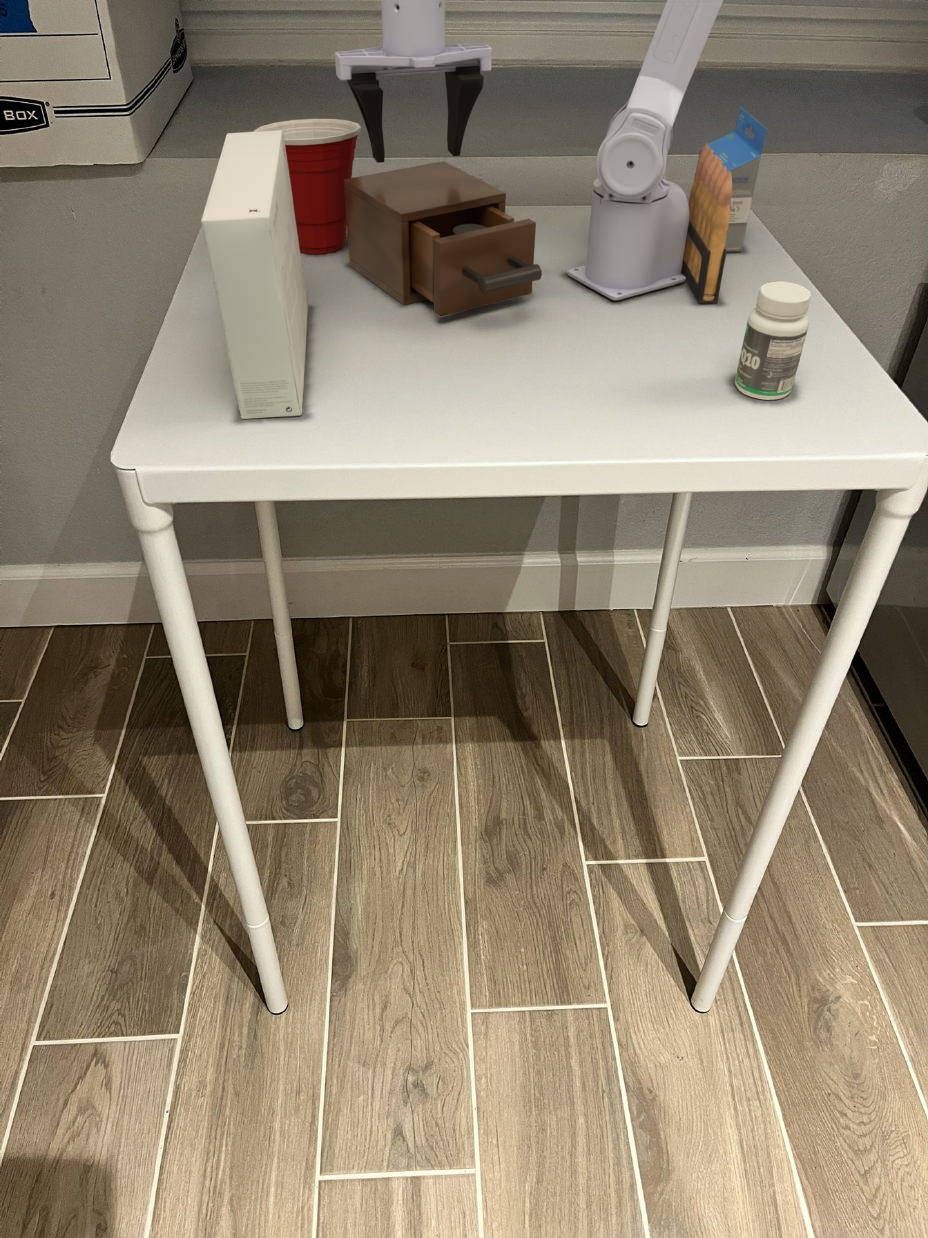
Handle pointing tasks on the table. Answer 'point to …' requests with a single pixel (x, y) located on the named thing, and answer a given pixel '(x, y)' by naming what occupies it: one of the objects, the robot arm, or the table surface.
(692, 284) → the ammunition clip
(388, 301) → the table surface
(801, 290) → the pill bottle
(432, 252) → the drawer
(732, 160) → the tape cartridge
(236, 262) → the skincare box
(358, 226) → the cabinet
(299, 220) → the plastic cup
